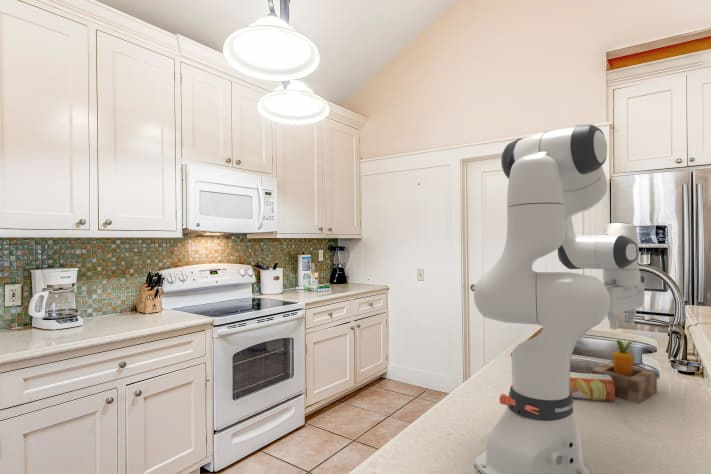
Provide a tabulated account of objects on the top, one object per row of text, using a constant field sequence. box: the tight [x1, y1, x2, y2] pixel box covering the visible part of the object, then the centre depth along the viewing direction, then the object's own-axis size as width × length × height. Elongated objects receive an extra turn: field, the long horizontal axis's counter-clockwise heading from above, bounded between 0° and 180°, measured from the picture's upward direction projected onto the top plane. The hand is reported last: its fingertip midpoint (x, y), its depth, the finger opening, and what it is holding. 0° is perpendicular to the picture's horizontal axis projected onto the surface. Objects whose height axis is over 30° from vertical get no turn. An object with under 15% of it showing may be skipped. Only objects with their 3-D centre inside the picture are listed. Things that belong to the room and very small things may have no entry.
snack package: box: [570, 372, 616, 403], centre depth 115 cm, size 21×7×7 cm, turn 68°
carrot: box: [612, 339, 635, 377], centre depth 117 cm, size 5×5×15 cm
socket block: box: [591, 361, 658, 404], centre depth 117 cm, size 12×12×6 cm
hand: (622, 326), depth 116 cm, fingers open, 8 cm apart
